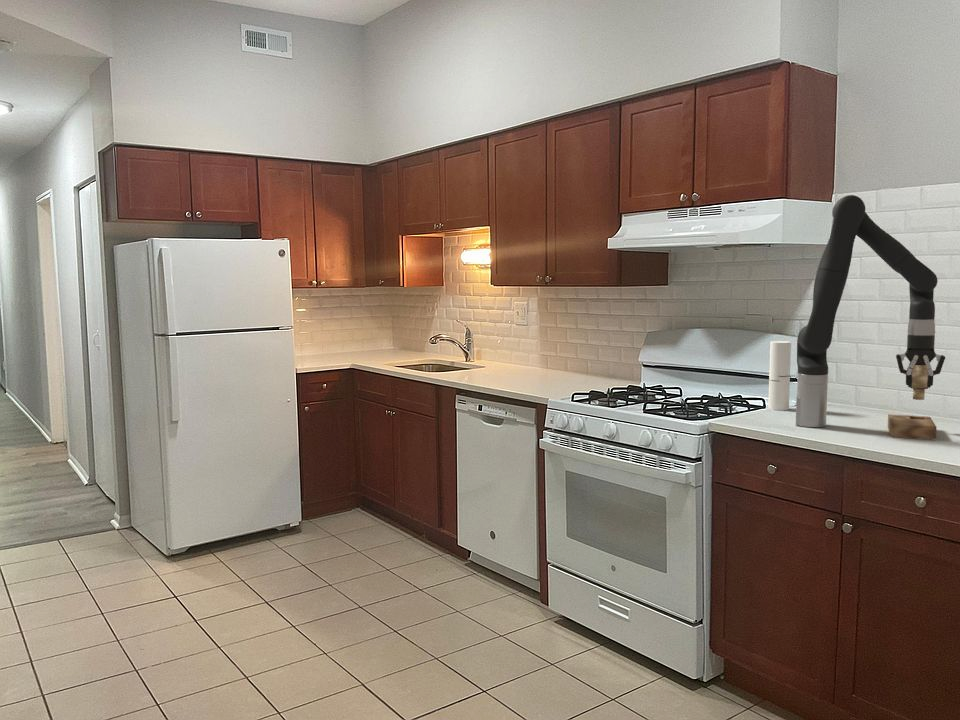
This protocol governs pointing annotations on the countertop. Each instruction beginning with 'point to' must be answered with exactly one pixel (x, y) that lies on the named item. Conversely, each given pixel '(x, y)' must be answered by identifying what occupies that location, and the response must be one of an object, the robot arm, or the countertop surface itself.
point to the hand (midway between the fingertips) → (918, 386)
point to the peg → (919, 381)
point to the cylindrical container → (779, 375)
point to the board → (911, 426)
